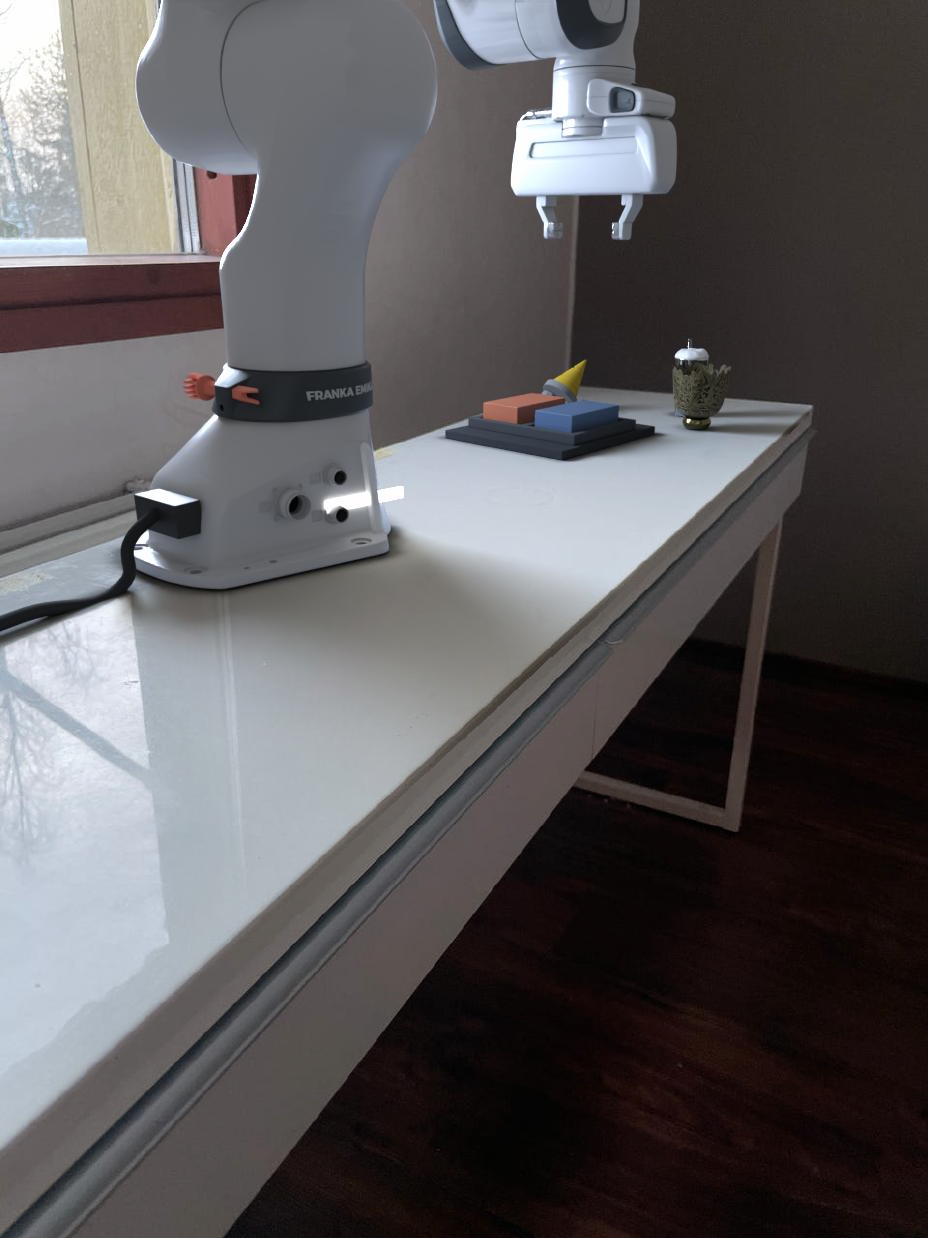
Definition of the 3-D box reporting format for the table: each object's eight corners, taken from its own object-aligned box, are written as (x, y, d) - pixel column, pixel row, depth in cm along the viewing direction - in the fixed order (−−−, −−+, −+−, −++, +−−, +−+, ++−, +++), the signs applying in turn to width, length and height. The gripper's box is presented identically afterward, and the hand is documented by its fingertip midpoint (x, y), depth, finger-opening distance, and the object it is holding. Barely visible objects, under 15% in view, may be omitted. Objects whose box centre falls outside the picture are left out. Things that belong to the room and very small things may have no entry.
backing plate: (561, 460, 108) (562, 440, 107) (445, 437, 119) (445, 420, 118) (654, 433, 122) (656, 416, 121) (542, 416, 133) (542, 400, 132)
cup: (655, 427, 125) (660, 365, 122) (688, 420, 130) (694, 360, 127) (703, 436, 120) (710, 371, 117) (736, 428, 125) (743, 366, 122)
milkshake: (699, 411, 137) (706, 339, 133) (704, 418, 132) (712, 343, 128) (667, 410, 137) (673, 338, 133) (671, 417, 132) (678, 342, 128)
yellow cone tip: (531, 411, 138) (570, 359, 140) (562, 430, 137) (601, 377, 139) (530, 394, 133) (571, 340, 135) (562, 413, 132) (602, 358, 133)
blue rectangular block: (571, 441, 112) (572, 415, 111) (534, 434, 116) (535, 410, 115) (617, 429, 119) (619, 404, 118) (581, 423, 123) (583, 399, 121)
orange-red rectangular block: (517, 432, 117) (517, 407, 116) (482, 426, 121) (483, 402, 120) (564, 420, 124) (565, 397, 123) (531, 415, 128) (531, 392, 126)
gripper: (500, 107, 108) (498, 238, 113) (658, 91, 95) (647, 240, 101) (534, 111, 112) (531, 238, 118) (689, 97, 100) (677, 239, 105)
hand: (586, 239), depth 109 cm, fingers open, 8 cm apart
